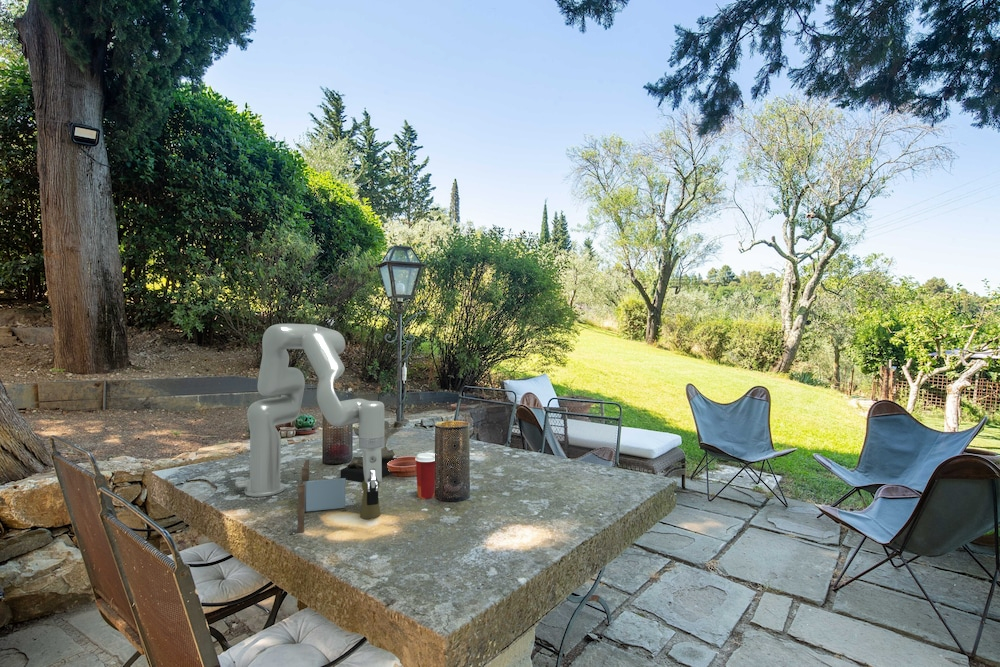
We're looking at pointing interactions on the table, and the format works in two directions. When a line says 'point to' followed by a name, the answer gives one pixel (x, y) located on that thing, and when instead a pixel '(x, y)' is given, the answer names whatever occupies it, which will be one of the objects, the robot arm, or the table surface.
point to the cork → (368, 510)
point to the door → (324, 494)
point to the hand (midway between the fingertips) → (371, 499)
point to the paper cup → (425, 475)
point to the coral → (356, 466)
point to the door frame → (302, 496)
